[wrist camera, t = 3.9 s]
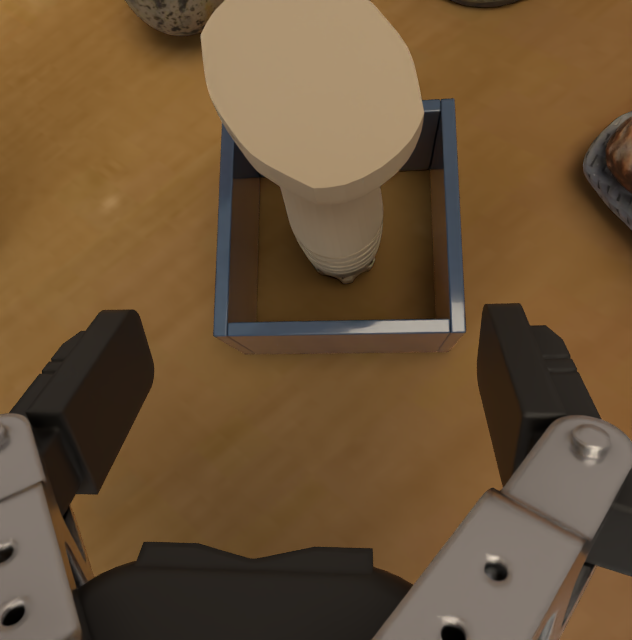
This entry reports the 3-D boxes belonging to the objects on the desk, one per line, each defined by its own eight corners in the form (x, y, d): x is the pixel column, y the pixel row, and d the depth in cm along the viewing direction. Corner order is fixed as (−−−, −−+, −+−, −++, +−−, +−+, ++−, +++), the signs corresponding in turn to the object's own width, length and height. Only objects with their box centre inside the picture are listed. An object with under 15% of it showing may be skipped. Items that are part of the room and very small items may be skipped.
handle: (340, 331, 28) (298, 223, 13) (272, 233, 29) (165, 37, 15) (419, 277, 28) (464, 110, 13) (347, 182, 29) (316, -63, 15)
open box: (244, 354, 28) (212, 336, 23) (249, 168, 30) (222, 111, 25) (449, 352, 27) (466, 332, 22) (440, 159, 29) (454, 97, 24)
